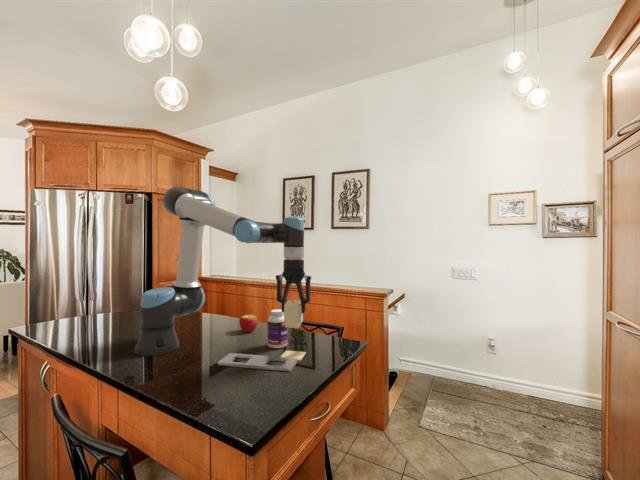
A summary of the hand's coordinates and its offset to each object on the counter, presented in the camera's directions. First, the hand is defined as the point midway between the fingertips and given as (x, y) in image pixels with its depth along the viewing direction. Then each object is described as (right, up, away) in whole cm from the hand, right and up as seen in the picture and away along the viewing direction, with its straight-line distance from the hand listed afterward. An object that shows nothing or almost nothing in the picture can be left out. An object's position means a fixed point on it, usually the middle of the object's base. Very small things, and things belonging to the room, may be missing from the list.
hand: (293, 321), depth 114 cm
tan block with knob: (0, -2, 0) cm, 2 cm away
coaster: (0, -13, 0) cm, 13 cm away
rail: (-12, -13, -7) cm, 19 cm away
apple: (-24, -13, +31) cm, 41 cm away
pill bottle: (-7, -13, +11) cm, 19 cm away
